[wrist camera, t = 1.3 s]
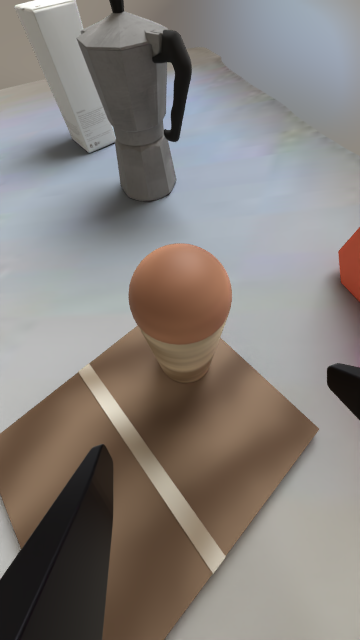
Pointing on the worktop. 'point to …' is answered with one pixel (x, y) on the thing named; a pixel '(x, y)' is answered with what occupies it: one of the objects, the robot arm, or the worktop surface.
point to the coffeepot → (138, 95)
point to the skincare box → (66, 69)
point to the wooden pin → (181, 308)
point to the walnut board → (157, 470)
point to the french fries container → (351, 264)
